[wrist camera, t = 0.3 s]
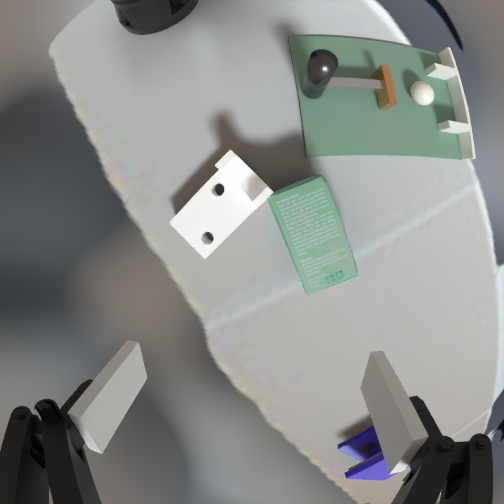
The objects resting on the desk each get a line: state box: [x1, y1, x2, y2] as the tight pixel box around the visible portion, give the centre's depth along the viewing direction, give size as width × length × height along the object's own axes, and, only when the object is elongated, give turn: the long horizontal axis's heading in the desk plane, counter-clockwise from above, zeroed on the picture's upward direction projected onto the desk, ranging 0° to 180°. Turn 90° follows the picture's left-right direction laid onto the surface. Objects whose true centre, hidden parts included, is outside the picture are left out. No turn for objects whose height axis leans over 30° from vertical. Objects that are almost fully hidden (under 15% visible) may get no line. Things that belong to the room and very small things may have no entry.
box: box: [267, 174, 358, 295], centre depth 35 cm, size 7×14×8 cm, turn 24°
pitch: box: [288, 36, 475, 160], centre depth 31 cm, size 20×28×4 cm
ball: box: [410, 81, 434, 105], centre depth 29 cm, size 4×4×4 cm
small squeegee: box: [301, 49, 397, 110], centre depth 27 cm, size 6×13×10 cm, turn 96°
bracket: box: [170, 150, 274, 259], centre depth 35 cm, size 13×7×8 cm, turn 135°
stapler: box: [338, 426, 410, 480], centre depth 46 cm, size 12×28×10 cm, turn 45°
